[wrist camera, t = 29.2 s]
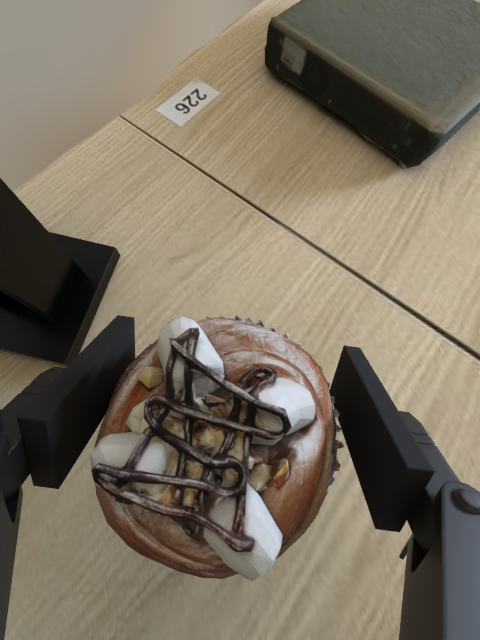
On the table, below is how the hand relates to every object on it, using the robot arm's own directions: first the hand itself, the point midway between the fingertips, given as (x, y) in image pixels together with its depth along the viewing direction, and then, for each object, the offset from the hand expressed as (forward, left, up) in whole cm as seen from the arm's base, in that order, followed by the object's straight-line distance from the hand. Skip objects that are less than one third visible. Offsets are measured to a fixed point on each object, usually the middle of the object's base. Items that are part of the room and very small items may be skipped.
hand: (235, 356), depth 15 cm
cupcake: (0, -3, -4) cm, 5 cm away
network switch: (+19, +35, -9) cm, 41 cm away
